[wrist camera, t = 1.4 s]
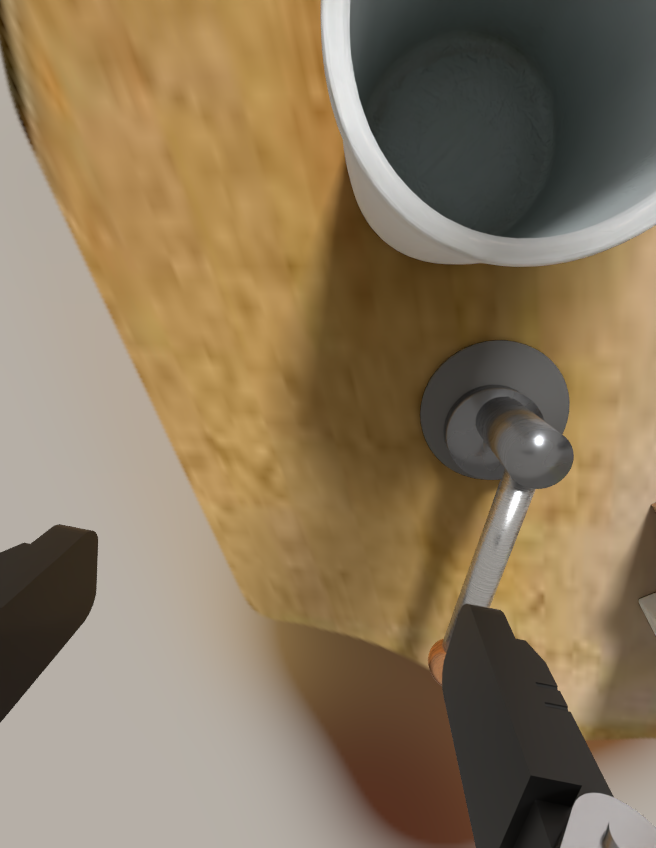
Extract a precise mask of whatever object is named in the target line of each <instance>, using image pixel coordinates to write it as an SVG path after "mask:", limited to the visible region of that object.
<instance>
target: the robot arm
mask: <svg viewBox="0 0 656 848" xmlns="http://www.w3.org/2000/svg"><path fill="white" fill-rule="evenodd" d="M97 556H98V536H97V534H96V532H94V531H91V530H85V529H80V528H76V527H71V526H65V525H60V524H59V525H55V526H53V527H52V528H51V529H49V530H48V531H47V532H45V533H44V534H43V535H41V536H40V537H39V538H38V539H36V540H35V541H34V542H32V543H31V544H27V543H22V544H20V545H18V546H15V547H13V548H10V549H8V550H5V551H3V552H1V553H0V722H1V721H2V720H3V719H4V718H5V716H6V715H7V714H8V713H9V712H10V710H11V709H12V708H13V707H14V706H15V704H16V703H17V702H18V701H19V700H20V698H21V697H22V696H23V695H24V693H25V692H26V691H27V690H28V689H29V688H30V686H31V685H32V684H33V683H34V681H35V680H36V679H37V678H38V677H39V675H40V674H41V673H42V672H43V671H44V669H45V668H46V667H47V666H48V665H49V663H50V662H51V661H52V660H53V659H54V657H55V656H56V655H57V654H58V653H59V651H60V650H61V649H62V648H63V647H64V645H65V644H66V643H67V642H68V641H69V639H70V638H71V637H72V636H73V634H74V633H75V632H76V631H77V630H78V628H79V627H80V626H81V625H82V624H83V622H84V621H85V620H86V618H87V616H88V615H89V613H90V611H91V608H92V606H93V603H94V600H95V595H96V583H97ZM442 688H443V695H444V700H445V704H446V709H447V714H448V718H449V723H450V728H451V732H452V737H453V741H454V747H455V751H456V756H457V761H458V765H459V770H460V775H461V779H462V784H463V789H464V794H465V798H466V803H467V808H468V812H469V817H470V822H471V826H472V831H473V835H474V840H475V845H476V848H656V827H655V826H654V825H653V824H652V823H651V822H649V821H648V820H647V819H646V818H645V817H644V816H643V815H641V814H640V813H639V812H638V811H636V810H635V809H633V808H632V807H630V806H629V805H627V804H626V803H624V802H622V801H620V800H618V799H616V798H614V797H613V795H612V793H611V791H610V789H609V787H608V785H607V783H606V781H605V779H604V777H603V775H602V773H601V771H600V769H599V767H598V765H597V763H596V761H595V759H594V757H593V755H592V753H591V752H590V750H589V748H588V746H587V743H586V741H585V740H584V738H583V736H582V734H581V732H580V730H579V728H578V726H577V724H576V722H575V720H574V718H573V716H572V714H571V712H568V706H567V704H566V702H565V700H564V698H563V696H562V694H561V692H560V691H558V690H557V684H556V682H555V680H554V678H553V676H552V674H551V672H550V670H549V668H548V666H547V664H546V663H545V661H544V660H543V659H542V658H541V657H540V656H539V655H538V654H537V653H536V652H535V651H534V649H533V648H532V647H531V646H530V645H529V644H528V643H527V642H526V641H524V640H519V639H515V637H514V634H513V632H512V630H511V628H510V626H509V623H508V621H507V619H506V617H505V615H504V613H503V612H502V611H501V610H497V609H492V608H487V607H482V606H477V605H472V604H467V603H466V604H464V605H463V606H462V608H461V610H460V612H459V615H458V618H457V621H456V625H455V628H454V631H453V634H452V637H451V640H450V643H449V646H448V649H447V652H446V656H445V659H444V663H443V670H442Z"/></svg>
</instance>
